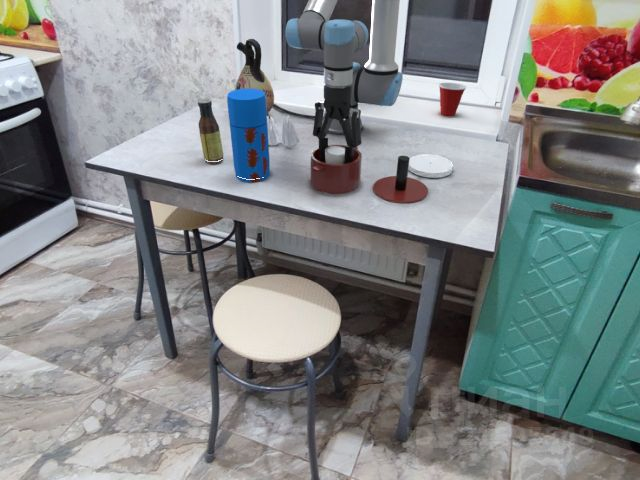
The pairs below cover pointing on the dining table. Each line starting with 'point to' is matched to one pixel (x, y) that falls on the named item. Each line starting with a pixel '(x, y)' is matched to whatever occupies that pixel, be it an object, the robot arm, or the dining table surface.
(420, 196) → the lid
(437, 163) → the plastic lid
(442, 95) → the plastic cup
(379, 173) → the dining table surface
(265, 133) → the thermos
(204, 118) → the sauce bottle
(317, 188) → the pot
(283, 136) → the shaker set
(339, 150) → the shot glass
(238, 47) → the ceramic jug
